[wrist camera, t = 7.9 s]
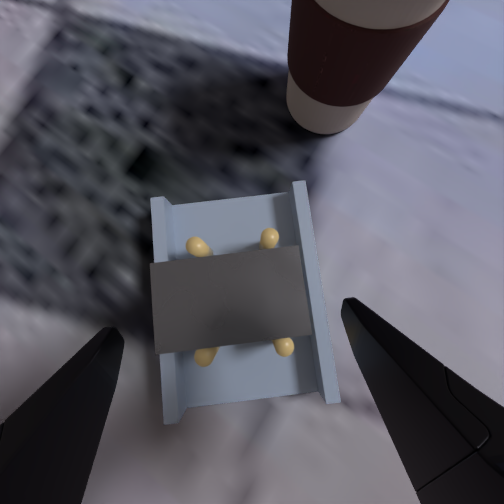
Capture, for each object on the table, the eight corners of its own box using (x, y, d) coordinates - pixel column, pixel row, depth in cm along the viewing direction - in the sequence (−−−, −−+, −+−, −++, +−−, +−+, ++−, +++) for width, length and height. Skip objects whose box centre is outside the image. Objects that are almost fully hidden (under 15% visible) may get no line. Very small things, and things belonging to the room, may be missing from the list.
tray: (327, 384, 19) (353, 418, 14) (177, 403, 19) (151, 444, 14) (297, 195, 21) (311, 167, 17) (164, 210, 21) (138, 187, 16)
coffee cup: (271, 57, 24) (302, -333, 9) (371, 57, 24) (572, -334, 9) (272, 150, 22) (313, -129, 7) (379, 149, 22) (638, -131, 7)
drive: (281, 310, 19) (312, 334, 9) (206, 319, 19) (155, 354, 9) (274, 265, 20) (298, 242, 10) (201, 274, 19) (149, 260, 10)
